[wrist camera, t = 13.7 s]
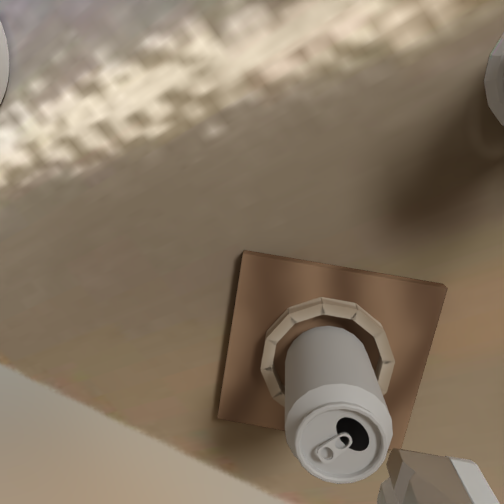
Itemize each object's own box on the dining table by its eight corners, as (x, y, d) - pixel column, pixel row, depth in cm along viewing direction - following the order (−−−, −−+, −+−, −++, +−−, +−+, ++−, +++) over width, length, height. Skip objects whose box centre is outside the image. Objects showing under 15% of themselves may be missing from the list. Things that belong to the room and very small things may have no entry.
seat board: (219, 411, 45) (214, 428, 42) (244, 250, 40) (241, 258, 38) (397, 443, 44) (404, 462, 41) (442, 283, 40) (454, 294, 37)
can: (382, 370, 41) (420, 463, 29) (313, 408, 42) (324, 511, 31) (338, 306, 40) (360, 377, 28) (269, 348, 41) (262, 432, 30)
